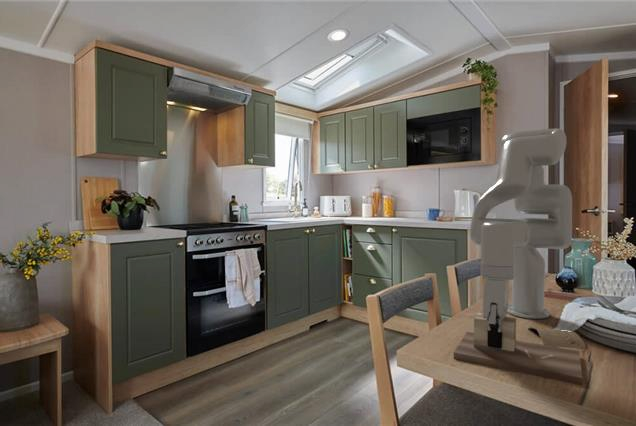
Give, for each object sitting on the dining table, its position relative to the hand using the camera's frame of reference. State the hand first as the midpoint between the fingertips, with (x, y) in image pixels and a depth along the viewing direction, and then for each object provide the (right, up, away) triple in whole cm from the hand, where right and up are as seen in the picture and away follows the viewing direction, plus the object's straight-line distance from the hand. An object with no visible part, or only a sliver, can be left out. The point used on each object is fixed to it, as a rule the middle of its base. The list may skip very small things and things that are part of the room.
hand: (496, 342), depth 97 cm
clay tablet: (+21, -3, +10) cm, 23 cm away
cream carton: (0, -1, 0) cm, 1 cm away
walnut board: (+4, -3, -2) cm, 5 cm away
